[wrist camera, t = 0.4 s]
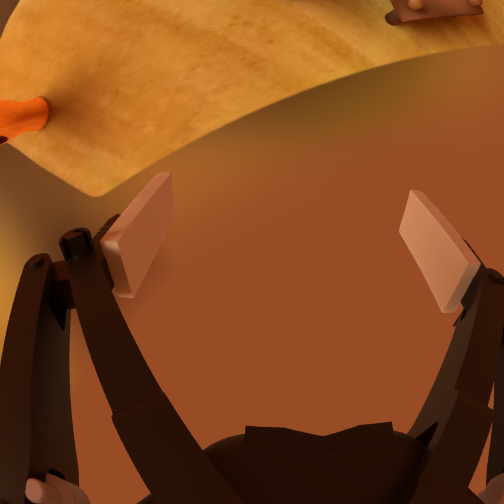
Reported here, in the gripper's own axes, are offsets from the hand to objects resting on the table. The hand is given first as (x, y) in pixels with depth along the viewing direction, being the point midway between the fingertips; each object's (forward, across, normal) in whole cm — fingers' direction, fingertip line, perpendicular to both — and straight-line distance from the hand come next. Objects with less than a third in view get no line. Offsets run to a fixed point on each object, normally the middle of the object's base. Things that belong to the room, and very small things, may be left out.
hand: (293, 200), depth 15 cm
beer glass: (+26, -40, +4) cm, 48 cm away
